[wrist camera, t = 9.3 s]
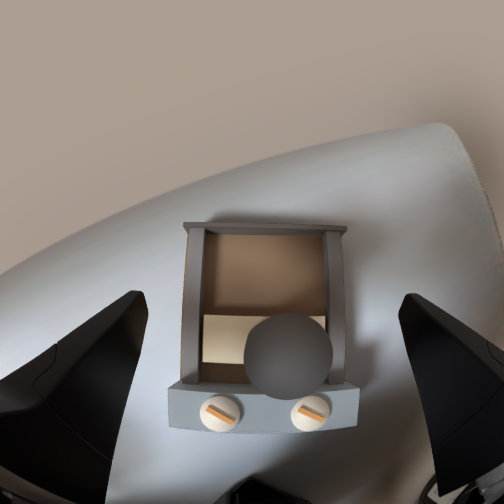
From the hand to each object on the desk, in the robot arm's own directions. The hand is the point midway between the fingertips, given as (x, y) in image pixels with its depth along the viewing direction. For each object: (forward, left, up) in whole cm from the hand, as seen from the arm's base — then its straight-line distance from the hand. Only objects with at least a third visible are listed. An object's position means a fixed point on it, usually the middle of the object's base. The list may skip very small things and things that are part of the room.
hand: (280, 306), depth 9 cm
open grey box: (0, 0, -10) cm, 10 cm away
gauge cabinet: (-3, +5, -10) cm, 12 cm away
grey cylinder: (-1, +1, -9) cm, 10 cm away
